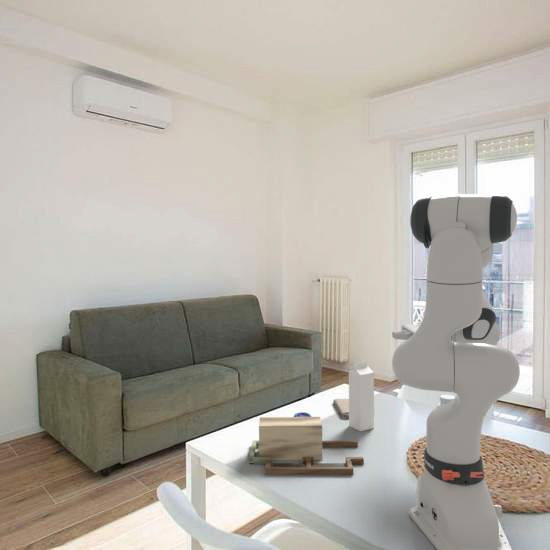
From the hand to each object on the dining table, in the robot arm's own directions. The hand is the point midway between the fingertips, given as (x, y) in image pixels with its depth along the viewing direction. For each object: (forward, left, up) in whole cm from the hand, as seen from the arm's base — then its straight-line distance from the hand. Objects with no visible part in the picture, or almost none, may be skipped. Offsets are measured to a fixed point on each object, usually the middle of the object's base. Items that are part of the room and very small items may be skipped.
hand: (393, 335), depth 136 cm
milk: (+16, +7, -34) cm, 38 cm away
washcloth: (+33, +8, -35) cm, 48 cm away
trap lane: (-8, +27, -34) cm, 44 cm away
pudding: (+14, +27, -34) cm, 46 cm away
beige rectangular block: (-5, +31, -34) cm, 46 cm away
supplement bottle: (+8, -19, -34) cm, 40 cm away
